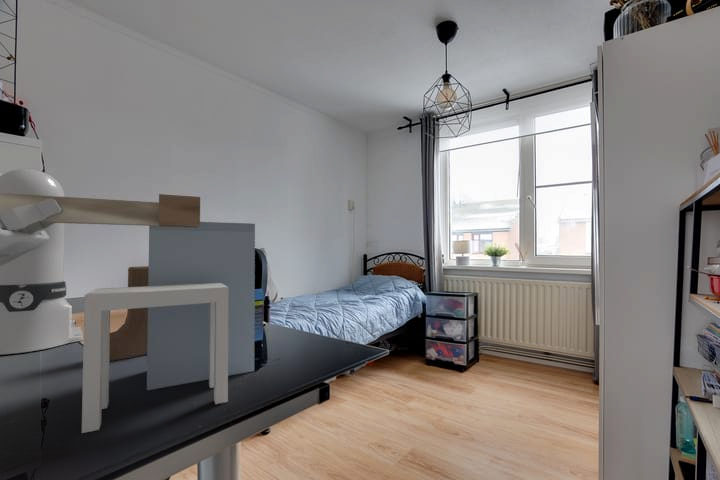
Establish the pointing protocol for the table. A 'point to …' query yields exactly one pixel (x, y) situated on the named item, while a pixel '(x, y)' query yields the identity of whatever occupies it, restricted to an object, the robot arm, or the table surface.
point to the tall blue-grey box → (191, 321)
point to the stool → (143, 297)
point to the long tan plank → (116, 210)
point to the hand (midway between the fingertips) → (63, 206)
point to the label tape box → (258, 315)
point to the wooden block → (132, 323)
